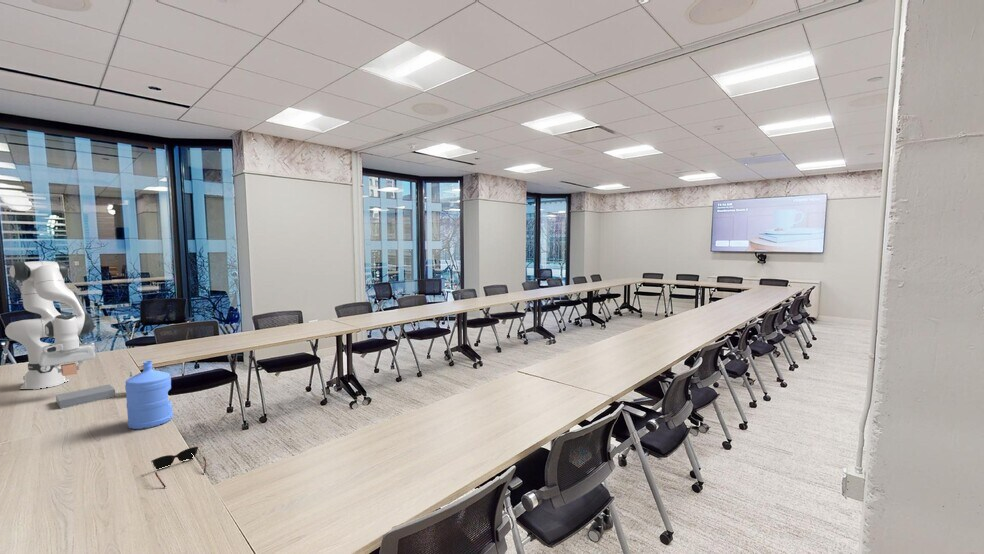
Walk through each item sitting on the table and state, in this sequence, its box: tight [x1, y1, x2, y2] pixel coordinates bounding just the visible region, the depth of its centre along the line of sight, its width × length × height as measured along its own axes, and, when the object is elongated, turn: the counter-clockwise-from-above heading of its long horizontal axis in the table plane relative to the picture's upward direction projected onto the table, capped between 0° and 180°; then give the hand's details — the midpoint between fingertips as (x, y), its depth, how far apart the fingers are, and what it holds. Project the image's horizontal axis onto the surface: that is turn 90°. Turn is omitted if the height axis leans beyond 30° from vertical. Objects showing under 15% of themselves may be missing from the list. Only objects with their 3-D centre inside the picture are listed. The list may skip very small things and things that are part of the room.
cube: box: [60, 362, 78, 377], centre depth 210 cm, size 5×5×5 cm
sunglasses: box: [150, 446, 207, 488], centre depth 140 cm, size 14×16×5 cm
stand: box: [55, 384, 116, 410], centre depth 207 cm, size 13×20×4 cm, turn 143°
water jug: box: [124, 360, 174, 430], centre depth 179 cm, size 16×16×28 cm
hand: (69, 370), depth 210 cm, fingers closed on cube, 5 cm apart
